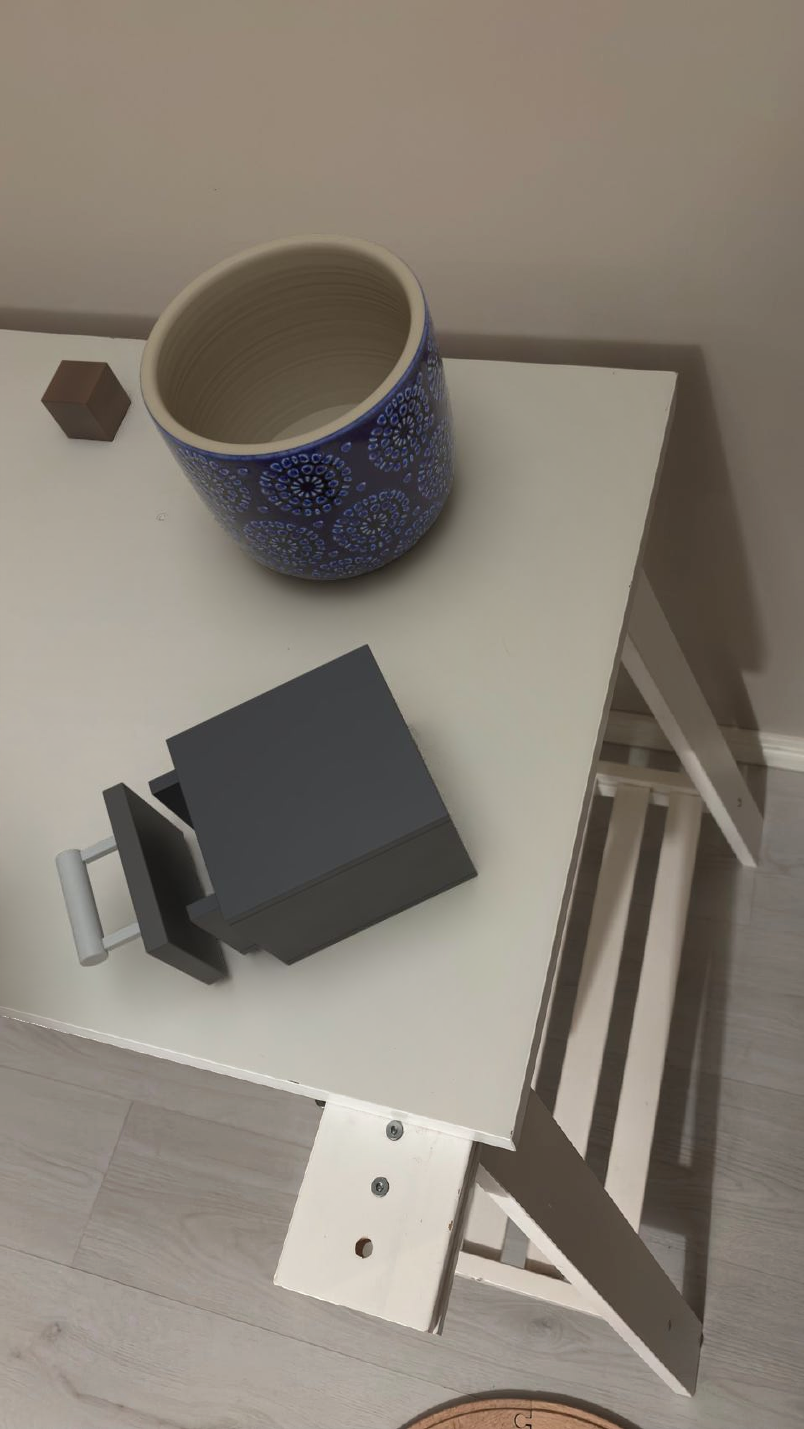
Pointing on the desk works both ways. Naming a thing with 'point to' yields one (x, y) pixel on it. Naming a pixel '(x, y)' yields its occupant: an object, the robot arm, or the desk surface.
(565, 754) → the desk surface
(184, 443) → the planter
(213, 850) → the cabinet
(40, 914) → the desk surface
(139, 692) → the desk surface
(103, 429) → the walnut block
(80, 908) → the drawer
